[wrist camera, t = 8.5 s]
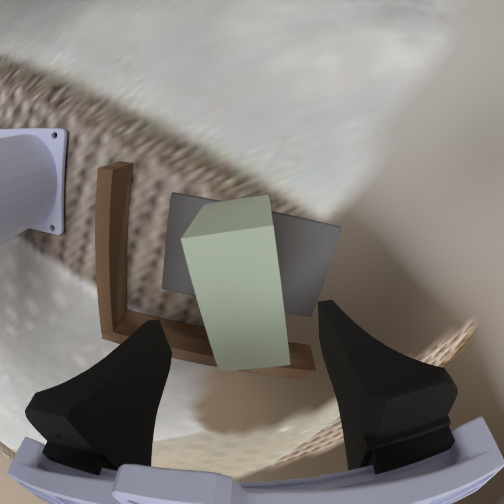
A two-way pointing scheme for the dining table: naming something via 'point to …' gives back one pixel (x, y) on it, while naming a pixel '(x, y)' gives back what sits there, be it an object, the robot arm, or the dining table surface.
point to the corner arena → (178, 277)
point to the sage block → (238, 283)
